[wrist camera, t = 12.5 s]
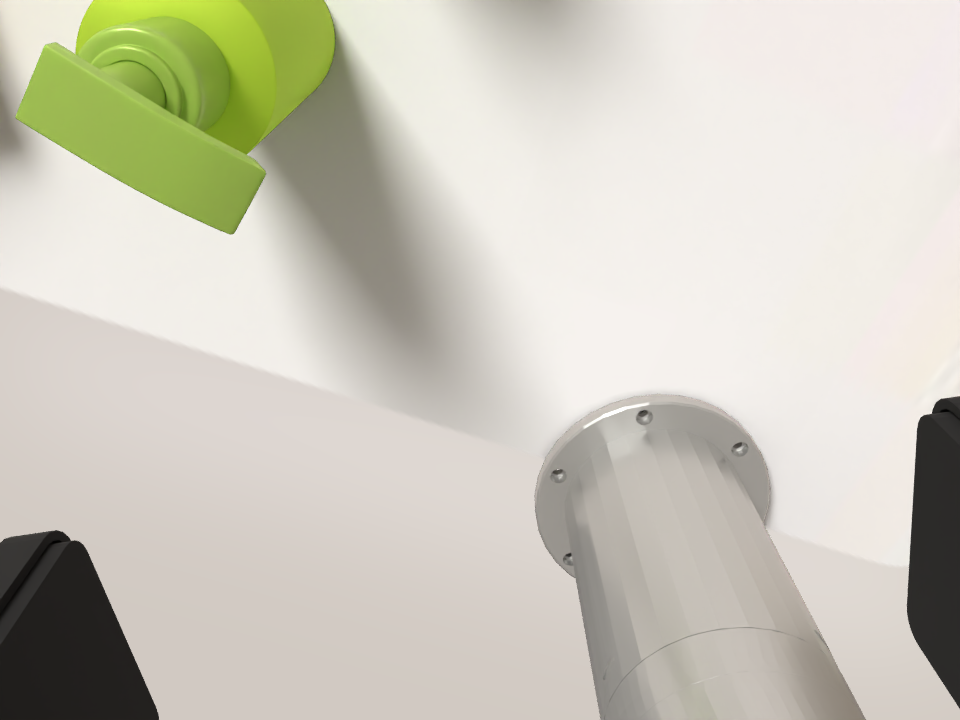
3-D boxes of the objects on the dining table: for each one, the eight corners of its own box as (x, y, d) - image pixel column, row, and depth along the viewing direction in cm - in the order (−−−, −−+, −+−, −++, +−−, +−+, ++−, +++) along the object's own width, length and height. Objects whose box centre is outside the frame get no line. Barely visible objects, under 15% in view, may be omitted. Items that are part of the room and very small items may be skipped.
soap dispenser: (316, 144, 40) (192, 308, 22) (175, 57, 38) (-88, 157, 20) (380, 27, 38) (303, 101, 20) (234, -69, 36) (2, -87, 18)
